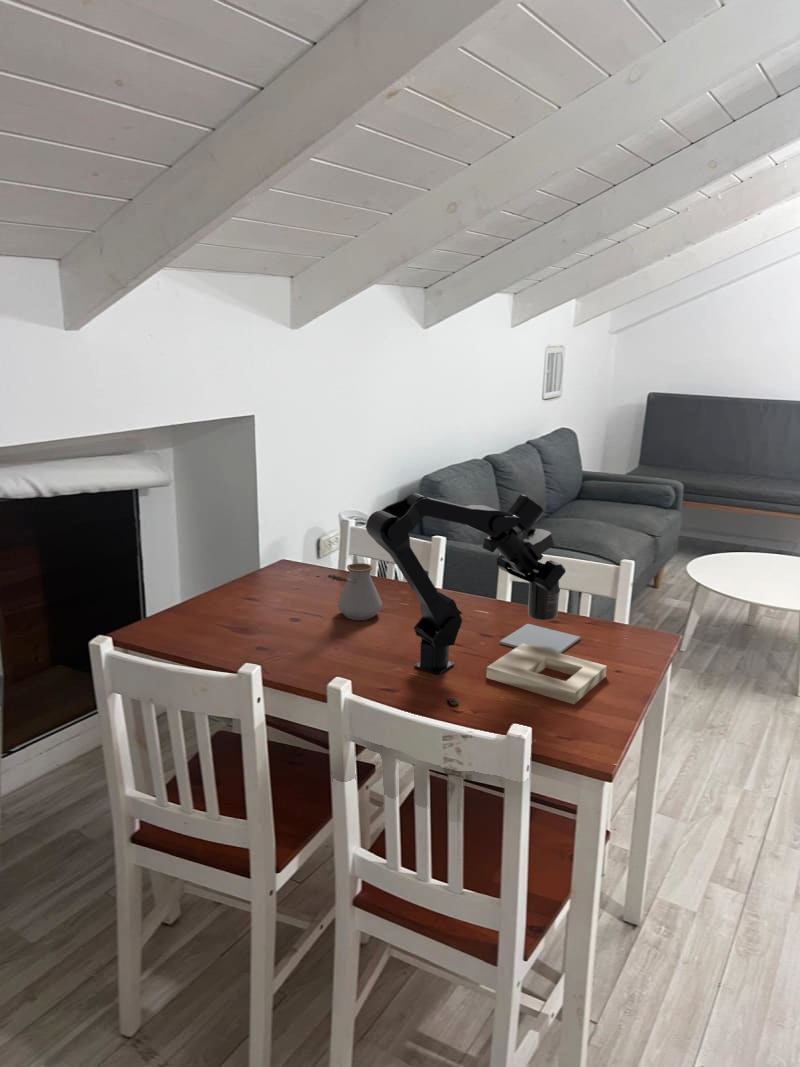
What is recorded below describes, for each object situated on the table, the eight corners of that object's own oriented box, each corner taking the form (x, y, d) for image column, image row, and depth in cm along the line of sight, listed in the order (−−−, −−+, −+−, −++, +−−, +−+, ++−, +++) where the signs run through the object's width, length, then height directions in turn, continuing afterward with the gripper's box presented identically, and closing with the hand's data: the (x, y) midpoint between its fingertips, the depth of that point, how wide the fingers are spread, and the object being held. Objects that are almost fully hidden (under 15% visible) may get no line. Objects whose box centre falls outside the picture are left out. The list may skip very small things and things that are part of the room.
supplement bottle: (554, 610, 191) (557, 562, 188) (559, 621, 185) (563, 571, 182) (525, 610, 192) (528, 561, 188) (529, 620, 185) (532, 570, 182)
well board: (574, 704, 160) (574, 692, 159) (486, 677, 171) (486, 666, 170) (605, 676, 172) (606, 665, 171) (522, 653, 183) (522, 643, 183)
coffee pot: (351, 604, 214) (351, 550, 210) (390, 611, 209) (390, 555, 205) (307, 631, 195) (306, 572, 192) (349, 639, 191) (348, 579, 187)
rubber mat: (554, 658, 181) (554, 655, 181) (499, 643, 189) (499, 641, 189) (580, 639, 192) (580, 636, 192) (527, 625, 200) (527, 623, 200)
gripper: (561, 529, 173) (596, 572, 181) (509, 511, 188) (543, 551, 196) (530, 569, 171) (567, 610, 179) (480, 547, 187) (516, 586, 195)
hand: (548, 587), depth 187 cm, fingers closed on supplement bottle, 7 cm apart
